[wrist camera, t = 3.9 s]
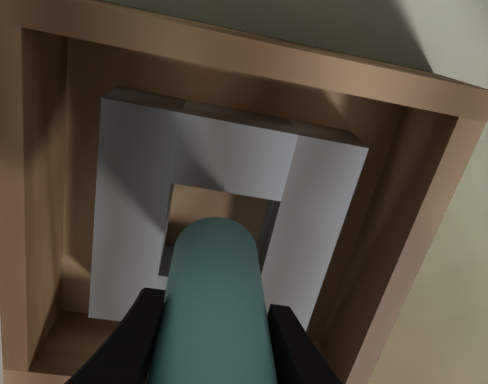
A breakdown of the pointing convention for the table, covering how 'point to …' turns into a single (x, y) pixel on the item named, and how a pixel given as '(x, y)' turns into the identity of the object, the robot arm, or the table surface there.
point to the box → (211, 175)
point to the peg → (214, 310)
